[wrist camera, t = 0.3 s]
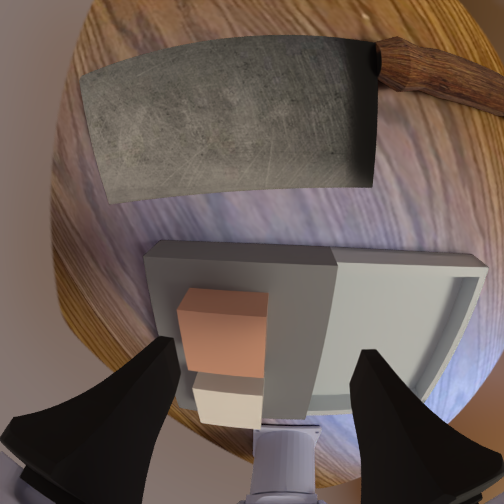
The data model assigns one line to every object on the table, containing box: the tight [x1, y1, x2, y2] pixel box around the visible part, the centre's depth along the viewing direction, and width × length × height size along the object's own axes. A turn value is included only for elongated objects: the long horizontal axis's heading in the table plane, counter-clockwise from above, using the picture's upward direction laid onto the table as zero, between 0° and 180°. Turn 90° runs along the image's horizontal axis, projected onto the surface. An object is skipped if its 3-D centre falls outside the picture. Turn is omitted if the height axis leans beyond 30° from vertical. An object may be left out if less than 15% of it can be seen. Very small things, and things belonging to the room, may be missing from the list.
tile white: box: [192, 371, 265, 430], centre depth 19 cm, size 5×5×2 cm
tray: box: [306, 247, 489, 415], centre depth 20 cm, size 16×13×2 cm
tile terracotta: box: [177, 288, 269, 378], centre depth 17 cm, size 5×5×2 cm
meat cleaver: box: [79, 35, 504, 205], centre depth 13 cm, size 34×11×4 cm, turn 94°
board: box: [143, 240, 338, 419], centre depth 21 cm, size 16×12×3 cm
